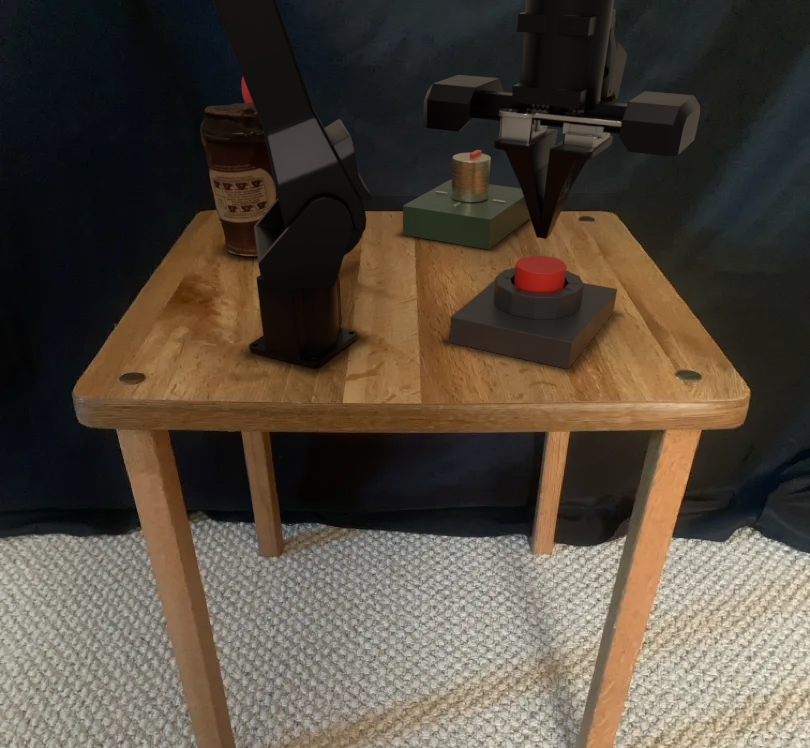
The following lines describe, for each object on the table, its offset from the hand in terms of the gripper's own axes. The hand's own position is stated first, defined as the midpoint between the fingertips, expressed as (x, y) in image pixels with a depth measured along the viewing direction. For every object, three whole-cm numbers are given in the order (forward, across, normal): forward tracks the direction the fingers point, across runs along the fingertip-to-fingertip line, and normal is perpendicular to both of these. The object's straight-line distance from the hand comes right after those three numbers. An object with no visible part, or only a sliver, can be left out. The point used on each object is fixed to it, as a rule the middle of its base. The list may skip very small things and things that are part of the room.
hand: (543, 236), depth 61 cm
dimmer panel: (+8, +16, -22) cm, 28 cm away
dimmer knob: (+4, +16, -22) cm, 28 cm away
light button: (+4, 0, 0) cm, 4 cm away
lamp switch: (+8, 0, 0) cm, 8 cm away
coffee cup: (+8, +32, -5) cm, 33 cm away
